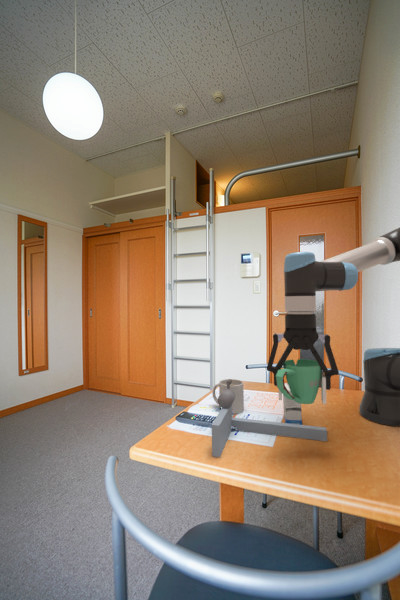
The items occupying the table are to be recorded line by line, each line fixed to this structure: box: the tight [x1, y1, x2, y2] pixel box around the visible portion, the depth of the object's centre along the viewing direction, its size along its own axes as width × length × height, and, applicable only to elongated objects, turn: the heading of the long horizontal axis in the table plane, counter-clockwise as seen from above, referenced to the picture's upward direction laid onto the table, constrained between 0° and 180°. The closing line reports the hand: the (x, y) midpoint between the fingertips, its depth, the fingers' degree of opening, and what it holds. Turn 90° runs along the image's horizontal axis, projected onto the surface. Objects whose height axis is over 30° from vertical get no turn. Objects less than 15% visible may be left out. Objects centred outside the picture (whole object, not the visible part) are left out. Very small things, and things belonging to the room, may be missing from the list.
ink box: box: [282, 382, 303, 425], centre depth 89 cm, size 9×5×12 cm, turn 168°
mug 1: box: [211, 378, 245, 415], centre depth 103 cm, size 11×10×10 cm
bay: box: [211, 378, 328, 458], centre depth 76 cm, size 30×20×14 cm, turn 73°
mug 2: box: [276, 358, 323, 405], centre depth 71 cm, size 15×10×10 cm
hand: (301, 400), depth 71 cm, fingers closed on mug 2, 10 cm apart
